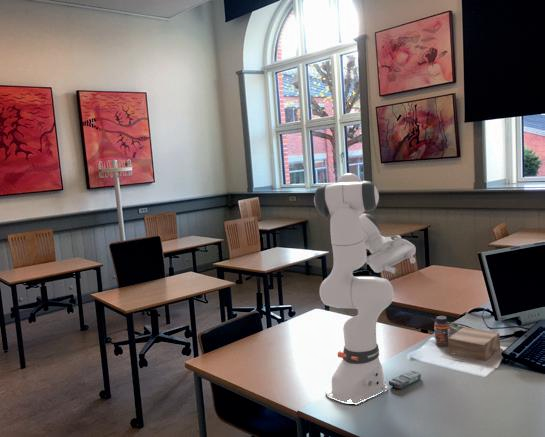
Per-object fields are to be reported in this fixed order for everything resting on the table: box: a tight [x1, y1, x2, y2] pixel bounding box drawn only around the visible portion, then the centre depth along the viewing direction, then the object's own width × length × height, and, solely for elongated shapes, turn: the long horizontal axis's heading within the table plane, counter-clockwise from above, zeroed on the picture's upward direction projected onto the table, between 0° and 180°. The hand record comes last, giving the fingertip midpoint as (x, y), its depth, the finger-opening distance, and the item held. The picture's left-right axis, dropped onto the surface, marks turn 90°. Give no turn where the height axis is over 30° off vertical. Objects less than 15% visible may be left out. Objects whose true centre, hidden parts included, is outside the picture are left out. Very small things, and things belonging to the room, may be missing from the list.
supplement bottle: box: [433, 315, 451, 347], centre depth 199 cm, size 6×6×11 cm
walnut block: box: [447, 326, 501, 362], centre depth 190 cm, size 14×14×6 cm
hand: (404, 266), depth 193 cm, fingers open, 8 cm apart
